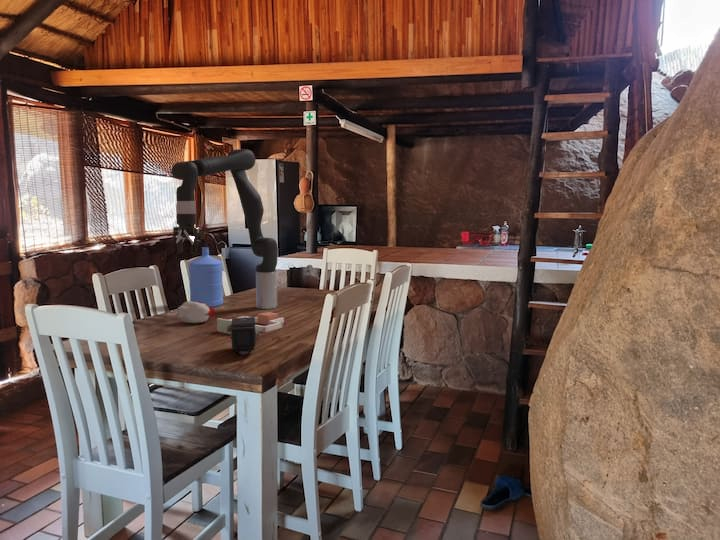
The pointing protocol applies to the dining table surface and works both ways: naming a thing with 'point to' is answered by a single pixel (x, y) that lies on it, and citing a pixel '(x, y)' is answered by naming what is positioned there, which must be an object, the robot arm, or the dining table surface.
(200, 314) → the white and red lump
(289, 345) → the dining table surface
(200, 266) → the water jug
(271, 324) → the box
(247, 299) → the dining table surface
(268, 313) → the block
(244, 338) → the camera
